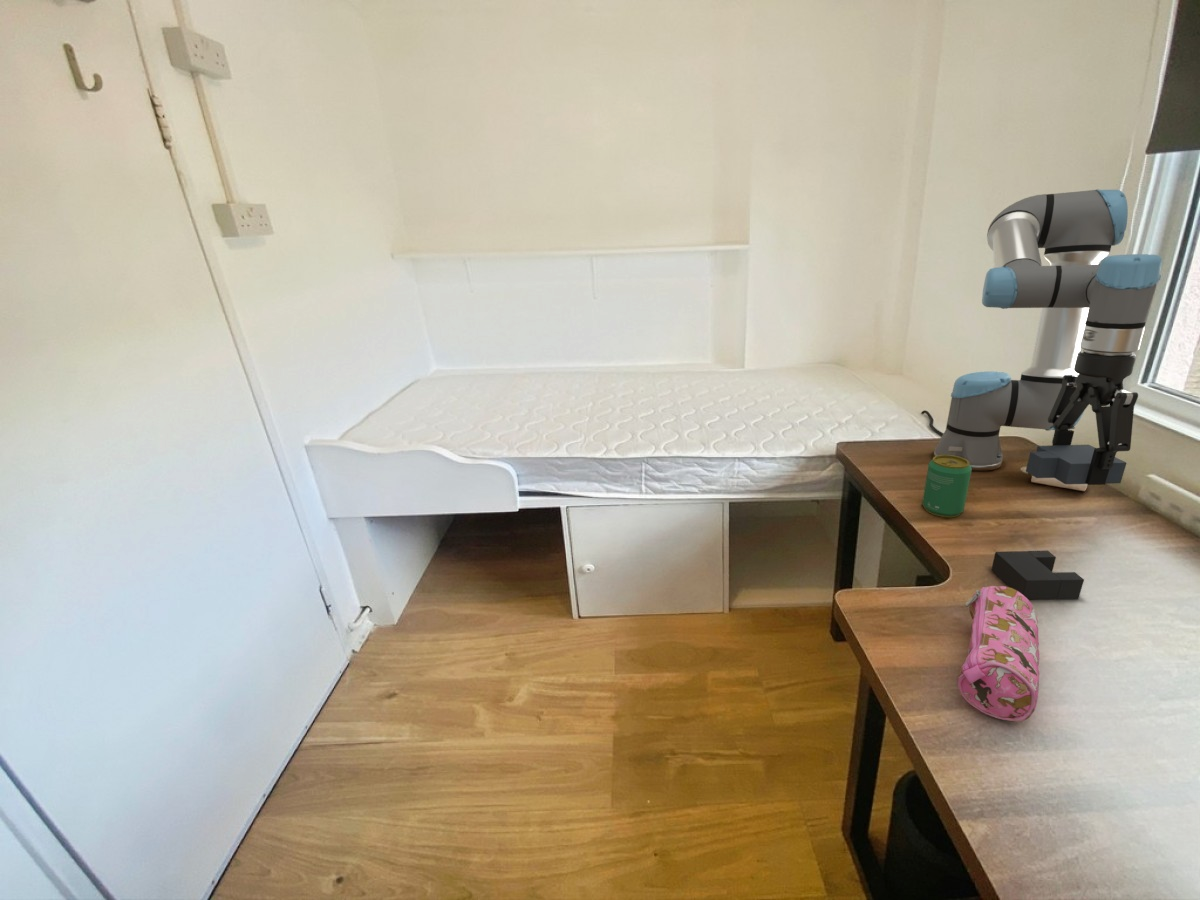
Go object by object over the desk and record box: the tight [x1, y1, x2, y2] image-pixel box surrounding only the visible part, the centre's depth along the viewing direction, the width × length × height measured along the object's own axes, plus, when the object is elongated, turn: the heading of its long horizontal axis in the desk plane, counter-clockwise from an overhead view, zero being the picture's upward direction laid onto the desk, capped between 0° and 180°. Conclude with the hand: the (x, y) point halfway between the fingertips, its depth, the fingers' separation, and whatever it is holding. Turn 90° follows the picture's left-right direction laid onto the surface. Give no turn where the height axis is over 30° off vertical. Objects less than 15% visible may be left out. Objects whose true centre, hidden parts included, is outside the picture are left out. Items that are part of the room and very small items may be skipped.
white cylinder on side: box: [1030, 475, 1089, 492], centre depth 130 cm, size 12×10×8 cm
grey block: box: [1025, 444, 1127, 485], centre depth 101 cm, size 9×12×4 cm
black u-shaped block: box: [991, 550, 1085, 601], centre depth 97 cm, size 9×9×4 cm
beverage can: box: [922, 455, 973, 518], centre depth 122 cm, size 8×8×12 cm
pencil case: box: [956, 585, 1040, 722], centre depth 79 cm, size 21×9×9 cm, turn 146°
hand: (1075, 472), depth 101 cm, fingers closed on grey block, 9 cm apart
